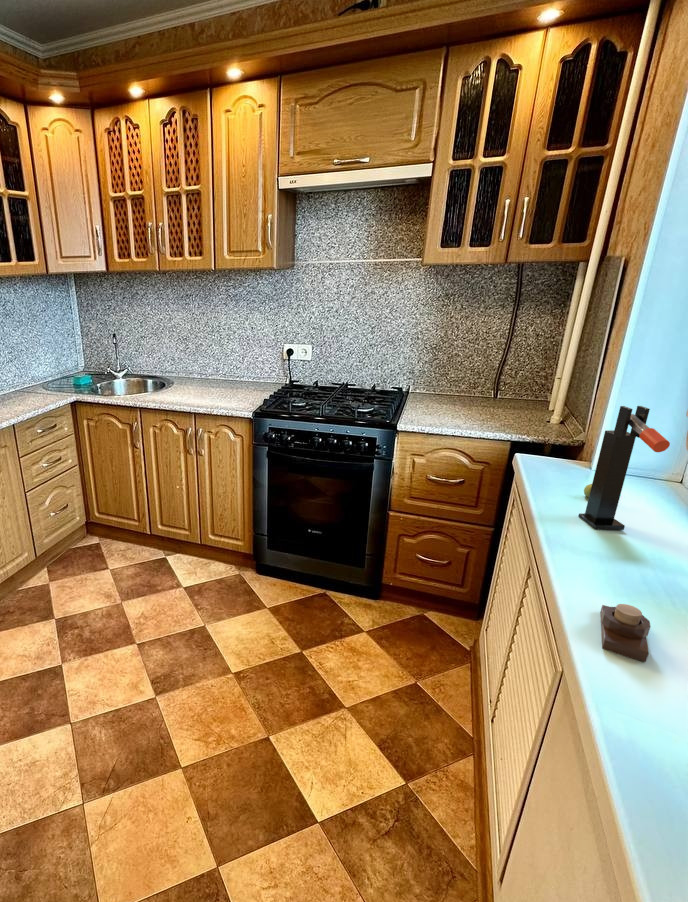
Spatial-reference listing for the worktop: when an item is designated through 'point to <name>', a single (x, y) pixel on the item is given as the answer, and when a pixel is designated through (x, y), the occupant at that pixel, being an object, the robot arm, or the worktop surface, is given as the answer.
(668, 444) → the lever
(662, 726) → the worktop surface
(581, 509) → the worktop surface
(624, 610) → the button
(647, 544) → the worktop surface
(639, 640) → the control block
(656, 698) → the worktop surface
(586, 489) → the lime
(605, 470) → the post
